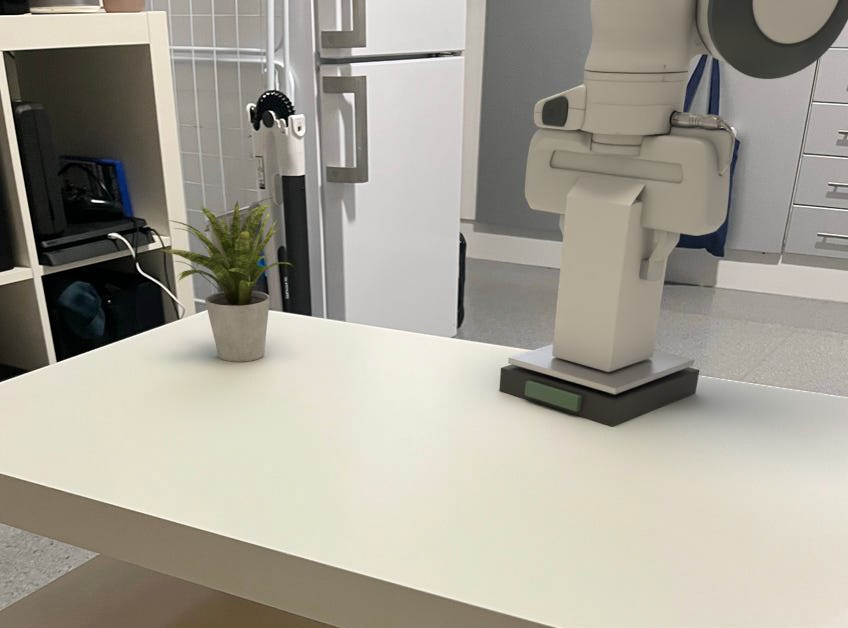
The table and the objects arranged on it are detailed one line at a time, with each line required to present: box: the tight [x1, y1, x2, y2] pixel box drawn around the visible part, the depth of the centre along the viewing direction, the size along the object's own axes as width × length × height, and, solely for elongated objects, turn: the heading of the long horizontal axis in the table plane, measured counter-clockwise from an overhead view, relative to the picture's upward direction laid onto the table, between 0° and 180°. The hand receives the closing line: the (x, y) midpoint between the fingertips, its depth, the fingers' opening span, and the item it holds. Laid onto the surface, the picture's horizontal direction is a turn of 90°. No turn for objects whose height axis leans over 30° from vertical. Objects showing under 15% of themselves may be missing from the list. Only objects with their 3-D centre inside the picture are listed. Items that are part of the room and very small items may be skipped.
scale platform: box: [507, 343, 695, 394], centre depth 101 cm, size 13×13×1 cm
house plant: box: [159, 200, 294, 363], centre depth 111 cm, size 14×14×16 cm
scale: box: [498, 364, 700, 427], centre depth 102 cm, size 15×14×2 cm
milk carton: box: [552, 177, 669, 372], centre depth 96 cm, size 7×7×19 cm
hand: (612, 272), depth 96 cm, fingers closed on milk carton, 7 cm apart
